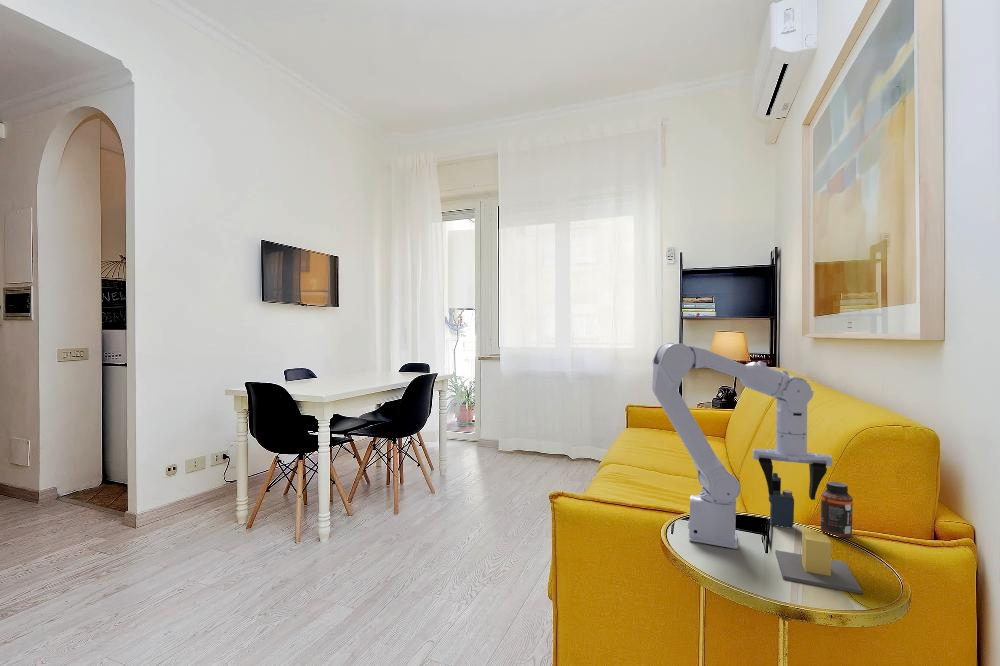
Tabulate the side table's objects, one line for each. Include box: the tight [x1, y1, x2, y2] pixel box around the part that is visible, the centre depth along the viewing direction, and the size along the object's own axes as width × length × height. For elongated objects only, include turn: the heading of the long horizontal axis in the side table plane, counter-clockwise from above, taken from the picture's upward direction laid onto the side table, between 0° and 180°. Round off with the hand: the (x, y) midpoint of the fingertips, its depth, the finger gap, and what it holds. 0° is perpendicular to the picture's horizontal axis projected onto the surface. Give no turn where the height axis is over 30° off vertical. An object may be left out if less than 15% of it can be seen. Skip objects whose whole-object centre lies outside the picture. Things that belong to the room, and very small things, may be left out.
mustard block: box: [801, 531, 832, 576], centre depth 94 cm, size 4×4×6 cm
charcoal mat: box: [774, 549, 863, 595], centre depth 94 cm, size 12×12×1 cm
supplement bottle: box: [820, 481, 854, 539], centre depth 113 cm, size 6×6×11 cm
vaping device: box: [768, 472, 795, 528], centre depth 117 cm, size 3×5×12 cm, turn 67°
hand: (791, 495), depth 106 cm, fingers open, 7 cm apart
